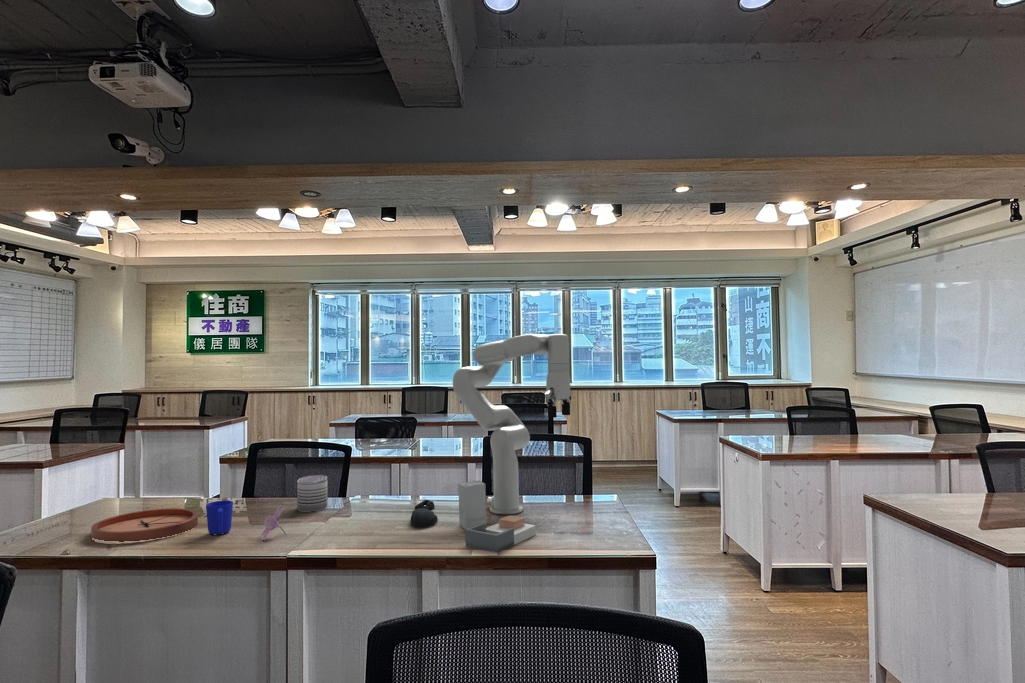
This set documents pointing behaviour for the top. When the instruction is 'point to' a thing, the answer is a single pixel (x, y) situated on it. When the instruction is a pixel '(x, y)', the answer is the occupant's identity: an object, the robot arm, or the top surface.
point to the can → (312, 493)
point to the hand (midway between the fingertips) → (559, 416)
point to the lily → (272, 522)
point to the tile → (511, 522)
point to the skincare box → (472, 504)
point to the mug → (219, 516)
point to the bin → (488, 538)
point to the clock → (145, 525)
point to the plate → (515, 531)
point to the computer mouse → (423, 515)
